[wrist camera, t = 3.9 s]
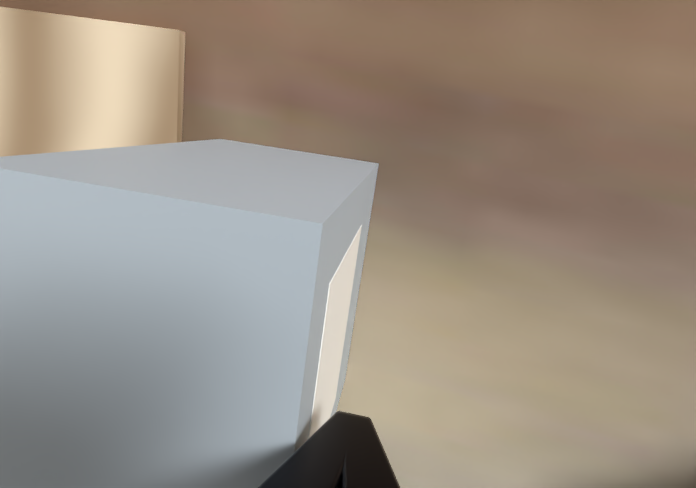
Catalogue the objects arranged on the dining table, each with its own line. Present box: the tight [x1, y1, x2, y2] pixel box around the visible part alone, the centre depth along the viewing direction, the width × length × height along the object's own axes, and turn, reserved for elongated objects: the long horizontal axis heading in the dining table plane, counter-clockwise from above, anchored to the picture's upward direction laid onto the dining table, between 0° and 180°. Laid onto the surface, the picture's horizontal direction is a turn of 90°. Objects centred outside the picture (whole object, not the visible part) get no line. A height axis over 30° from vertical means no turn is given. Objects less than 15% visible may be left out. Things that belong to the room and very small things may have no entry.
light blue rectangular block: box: [0, 139, 379, 488], centre depth 13 cm, size 6×9×10 cm, turn 172°
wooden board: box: [0, 7, 185, 157], centre depth 18 cm, size 14×16×1 cm
